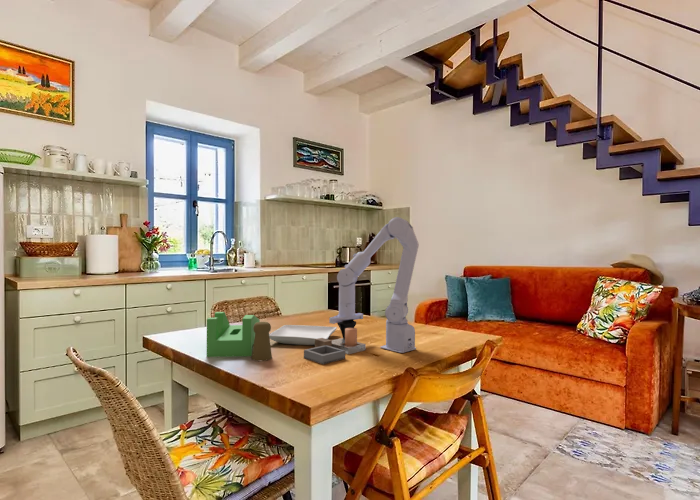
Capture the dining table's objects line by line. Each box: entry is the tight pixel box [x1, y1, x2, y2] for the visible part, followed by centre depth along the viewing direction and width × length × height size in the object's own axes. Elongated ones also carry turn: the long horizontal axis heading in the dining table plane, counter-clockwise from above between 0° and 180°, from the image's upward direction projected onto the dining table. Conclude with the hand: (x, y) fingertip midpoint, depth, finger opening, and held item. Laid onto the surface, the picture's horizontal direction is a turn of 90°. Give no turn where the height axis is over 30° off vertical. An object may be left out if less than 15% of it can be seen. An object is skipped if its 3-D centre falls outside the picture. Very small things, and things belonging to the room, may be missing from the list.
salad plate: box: [269, 324, 338, 346], centre depth 147 cm, size 21×21×3 cm
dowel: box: [345, 327, 358, 347], centre depth 133 cm, size 4×4×7 cm
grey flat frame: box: [331, 337, 367, 355], centre depth 134 cm, size 12×8×2 cm
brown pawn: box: [251, 321, 273, 362], centre depth 122 cm, size 6×6×11 cm
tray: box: [303, 345, 346, 365], centre depth 123 cm, size 9×9×2 cm
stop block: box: [314, 338, 333, 348], centre depth 132 cm, size 5×3×4 cm, turn 44°
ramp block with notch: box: [206, 311, 261, 358], centre depth 135 cm, size 24×13×12 cm, turn 7°
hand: (346, 341), depth 141 cm, fingers closed
